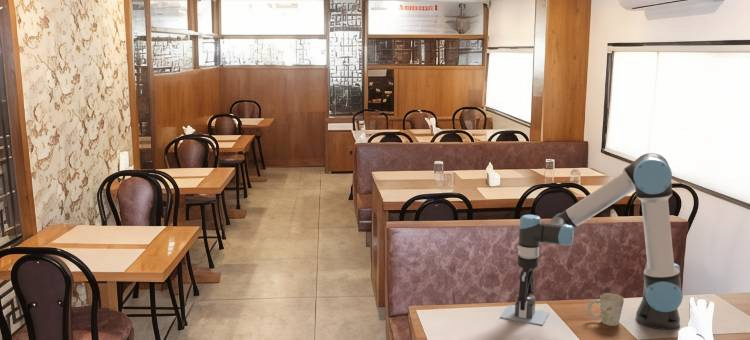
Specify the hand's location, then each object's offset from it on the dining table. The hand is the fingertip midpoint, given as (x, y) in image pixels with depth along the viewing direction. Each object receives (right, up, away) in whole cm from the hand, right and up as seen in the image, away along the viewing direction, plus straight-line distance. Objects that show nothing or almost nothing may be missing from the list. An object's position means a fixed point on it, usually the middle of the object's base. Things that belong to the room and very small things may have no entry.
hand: (524, 313), depth 251 cm
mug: (+28, -2, -5) cm, 29 cm away
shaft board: (0, -1, 0) cm, 1 cm away
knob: (0, 0, 0) cm, 0 cm away
